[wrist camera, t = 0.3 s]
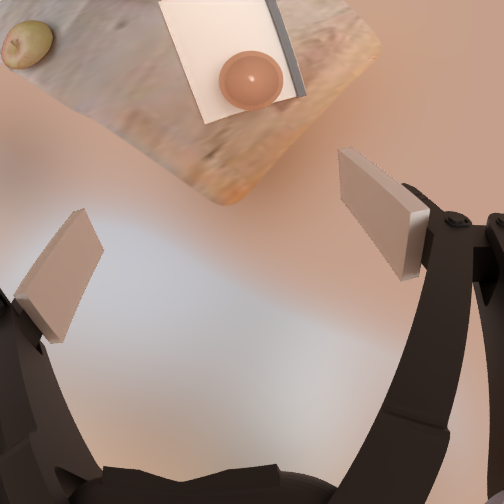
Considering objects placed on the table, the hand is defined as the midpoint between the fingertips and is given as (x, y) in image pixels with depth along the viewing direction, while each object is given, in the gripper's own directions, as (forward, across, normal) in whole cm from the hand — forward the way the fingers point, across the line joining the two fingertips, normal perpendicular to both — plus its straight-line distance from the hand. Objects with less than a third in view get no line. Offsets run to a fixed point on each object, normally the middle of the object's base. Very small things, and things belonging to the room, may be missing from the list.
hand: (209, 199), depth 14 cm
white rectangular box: (+27, +4, +9) cm, 29 cm away
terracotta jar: (+25, +4, +4) cm, 26 cm away
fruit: (+28, -23, +20) cm, 41 cm away
